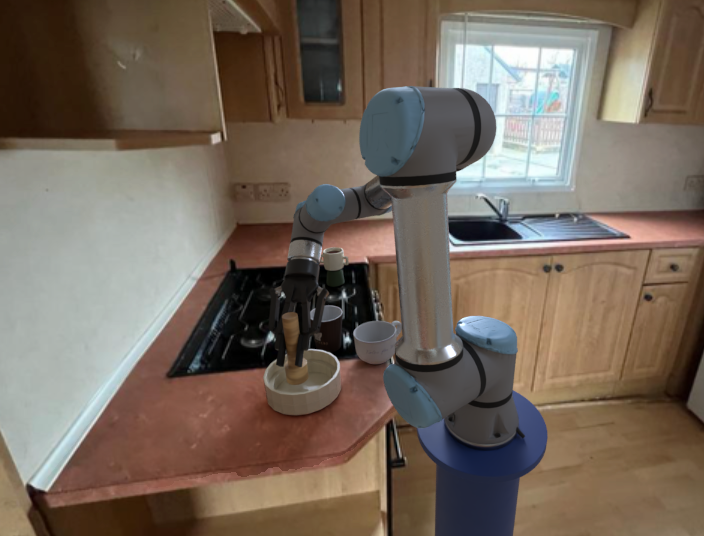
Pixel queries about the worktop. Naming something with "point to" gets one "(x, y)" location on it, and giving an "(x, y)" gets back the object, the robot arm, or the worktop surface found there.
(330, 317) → the coffee mug
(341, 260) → the character mug
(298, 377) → the wooden masher
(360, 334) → the teacup
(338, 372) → the mixing bowl
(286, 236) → the worktop surface
